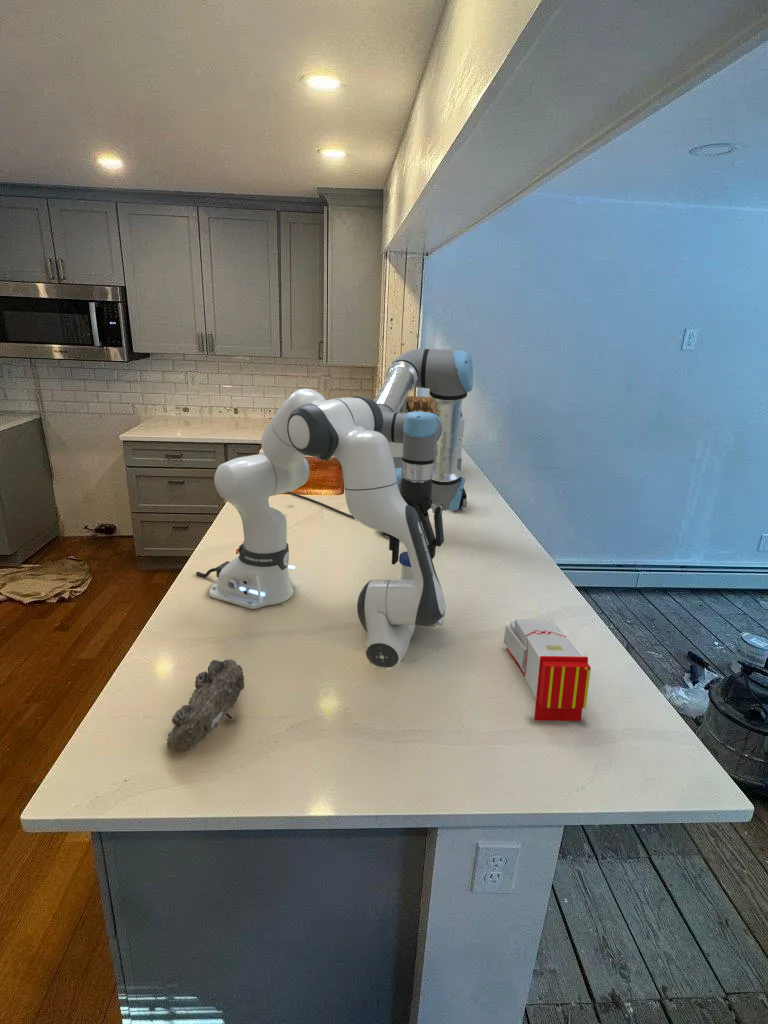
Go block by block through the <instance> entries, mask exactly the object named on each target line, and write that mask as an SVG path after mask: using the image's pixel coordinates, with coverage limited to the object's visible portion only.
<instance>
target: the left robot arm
mask: <svg viewBox="0 0 768 1024" xmlns="http://www.w3.org/2000/svg"><path fill="white" fill-rule="evenodd" d="M382 428H383V415H382V412H381V409H380V407H379V406H378V404H377V403H376V402H375V401H374V400H373V399H371V398H369V397H365V396H357V395H355V396H349V397H335V398H334V397H333V398H330V399H326V398H325V397H324V396H323V395H322V394H321V393H320V392H318V391H317V390H314V389H313V388H300V389H297V390H296V391H294V392H292V394H290V395H289V396H288V397H287V398H286V399H285V401H284V402H283V403H281V405H280V406H279V408H278V409H277V410H276V412H275V413H274V415H273V417H272V418H271V420H270V422H269V423H268V425H267V426H266V428H265V430H264V431H263V433H262V435H261V439H260V445H261V450H262V453H258V454H252V455H251V454H250V455H246V456H240V457H235V458H232V459H230V460H228V461H225V462H223V463H221V464H219V465H218V466H217V468H216V470H215V473H214V478H213V479H214V480H213V481H214V487H215V490H216V492H217V493H218V495H219V496H220V498H222V499H223V500H224V501H226V502H228V503H230V504H231V505H232V506H233V507H234V508H235V509H236V510H237V512H238V514H239V516H240V518H241V522H242V530H243V543H241V544H240V545H239V546H238V548H237V549H236V550H235V555H238V556H237V557H235V558H234V559H232V560H231V561H229V560H227V561H225V562H223V563H221V564H220V565H217V566H216V567H213V568H209V569H208V570H207V571H206V573H203V572H200V571H196V572H195V574H196V576H199V577H202V578H207V577H209V575H211V573H214V572H216V578H218V579H217V580H216V581H215V582H214V583H213V584H212V586H211V587H210V588H209V594H208V596H209V597H210V598H213V599H217V600H219V601H223V602H226V603H230V604H233V605H236V606H240V607H243V608H246V609H249V610H257V609H260V608H263V607H267V606H273V605H278V604H282V603H284V602H286V601H287V600H288V601H289V599H291V598H292V597H293V595H294V592H295V590H294V587H293V583H292V581H291V575H290V571H289V569H292V570H293V569H296V566H295V565H289V564H290V550H289V549H290V548H289V543H288V532H287V531H288V530H287V529H288V527H287V519H286V516H285V515H284V514H283V513H282V512H281V511H280V510H278V509H277V508H274V507H271V506H270V502H269V498H270V497H272V496H273V497H274V496H278V495H282V494H287V493H286V492H293V491H295V490H298V489H299V488H301V487H302V486H304V485H306V483H307V482H308V480H309V477H310V465H309V461H308V460H307V458H306V456H308V457H313V458H318V459H319V460H321V461H324V462H327V461H329V460H330V459H331V458H332V457H334V458H335V459H336V460H337V461H338V462H339V464H340V467H341V470H342V478H343V479H342V481H343V488H344V489H343V491H344V497H345V501H346V507H347V509H348V512H349V513H350V515H352V516H353V517H354V518H353V519H355V520H356V521H357V522H358V523H360V524H361V525H364V526H365V527H367V528H370V529H373V530H376V531H378V532H379V531H382V532H385V533H387V534H390V535H392V536H394V537H396V538H397V539H399V540H400V543H402V544H403V545H404V547H405V550H406V551H407V553H408V556H409V559H410V563H411V566H412V570H413V573H414V577H415V579H412V580H400V579H370V580H369V581H367V582H366V583H365V585H364V586H363V587H362V589H361V590H360V592H359V595H358V598H357V605H356V610H357V616H358V617H357V618H358V620H359V623H360V625H361V626H362V628H363V629H364V631H365V632H366V642H365V648H364V652H365V653H364V654H365V656H366V658H367V660H368V661H369V662H370V663H371V664H372V665H374V666H376V667H378V668H384V669H388V668H393V667H395V666H397V665H398V664H399V663H400V662H401V661H402V660H403V658H404V656H405V655H406V652H407V651H408V648H409V647H410V643H411V638H412V637H413V636H414V635H413V634H414V633H415V630H416V627H425V628H426V627H427V628H437V627H439V626H443V624H444V623H445V616H446V609H447V603H446V597H445V594H444V591H443V588H442V586H441V583H440V580H439V577H438V575H437V573H436V568H435V566H434V565H435V564H434V562H433V559H432V558H431V554H430V551H429V547H428V541H427V538H426V535H425V532H424V529H423V526H422V523H421V521H420V518H419V516H418V514H417V512H416V510H415V508H414V507H412V506H410V505H408V504H407V503H406V502H405V501H404V499H403V498H402V496H401V494H400V491H399V489H398V484H397V476H396V470H395V464H394V460H393V456H392V452H391V449H390V446H389V443H388V440H387V438H386V437H385V436H384V435H383V434H381V431H382Z"/></svg>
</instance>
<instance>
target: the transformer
mask: <svg viewBox="0 0 768 1024" xmlns="http://www.w3.org/2000/svg"><path fill="white" fill-rule="evenodd" d="M414 411H421V412H430V413H433V412H434V399H433V398H432V397H431V396H415V395H414V396H413V395H412V396H411V395H407V397H406V399H405V401H404V403H403V405H402V407H401V409H400V411H399V413H409V412H414ZM464 429H465V419H464V418H463V411H461V418H460V432H459V447H458V461H457V468H458V469H459V470H460V471H461V472H462V461H463V460H462V453H463V442H464V441H463V440H462V439H463V438H464V431H465V430H464ZM388 443H389V446H390V449H391V452H392V456H393V460H394V464H395V469H396V468H401V467H402V455H403V443H393V442H388Z"/></svg>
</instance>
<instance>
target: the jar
mask: <svg viewBox="0 0 768 1024" xmlns="http://www.w3.org/2000/svg"><path fill="white" fill-rule="evenodd" d="M412 579H415V577H414V573H413V570H412V567H407V566H404V565H402V564H400V577H399V580H412Z"/></svg>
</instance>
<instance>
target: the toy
mask: <svg viewBox="0 0 768 1024" xmlns="http://www.w3.org/2000/svg"><path fill="white" fill-rule="evenodd" d="M503 644H504V645H505V647H506V650H507V653H508V654H509V656H510V657H511V658H512V660H513V662H514V663H515V665H516V667H517V668H518V669H519V671H520V672H521V674H522V676H523V677H524V678H525V681H526V683H527V684H528V686H529V688H530V690H531V692H532V694H533V695H534V697H535V706H534V717H533V720H534V721H536V722H539V721H540V722H582V716H583V715H582V714H583V709H587V704H588V703H587V701H588V695H589V685H590V677H591V669H592V666H590V664H589V657H588V656H582V654H581V653H580V652H579V651H578V649H576V647H575V646H574V645H573V643H572V642H571V641H570V640H569V639H568V637H567V636H566V635H565V634H564V633H563V631H562V630H561V629H560V628H559V626H558V625H557V624H556V623H555V621H554V620H553V619H524V618H523V619H521V618H518V619H516V618H515V619H514V621H510V622H509V624H506V625H505V629H504V637H503Z"/></svg>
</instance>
